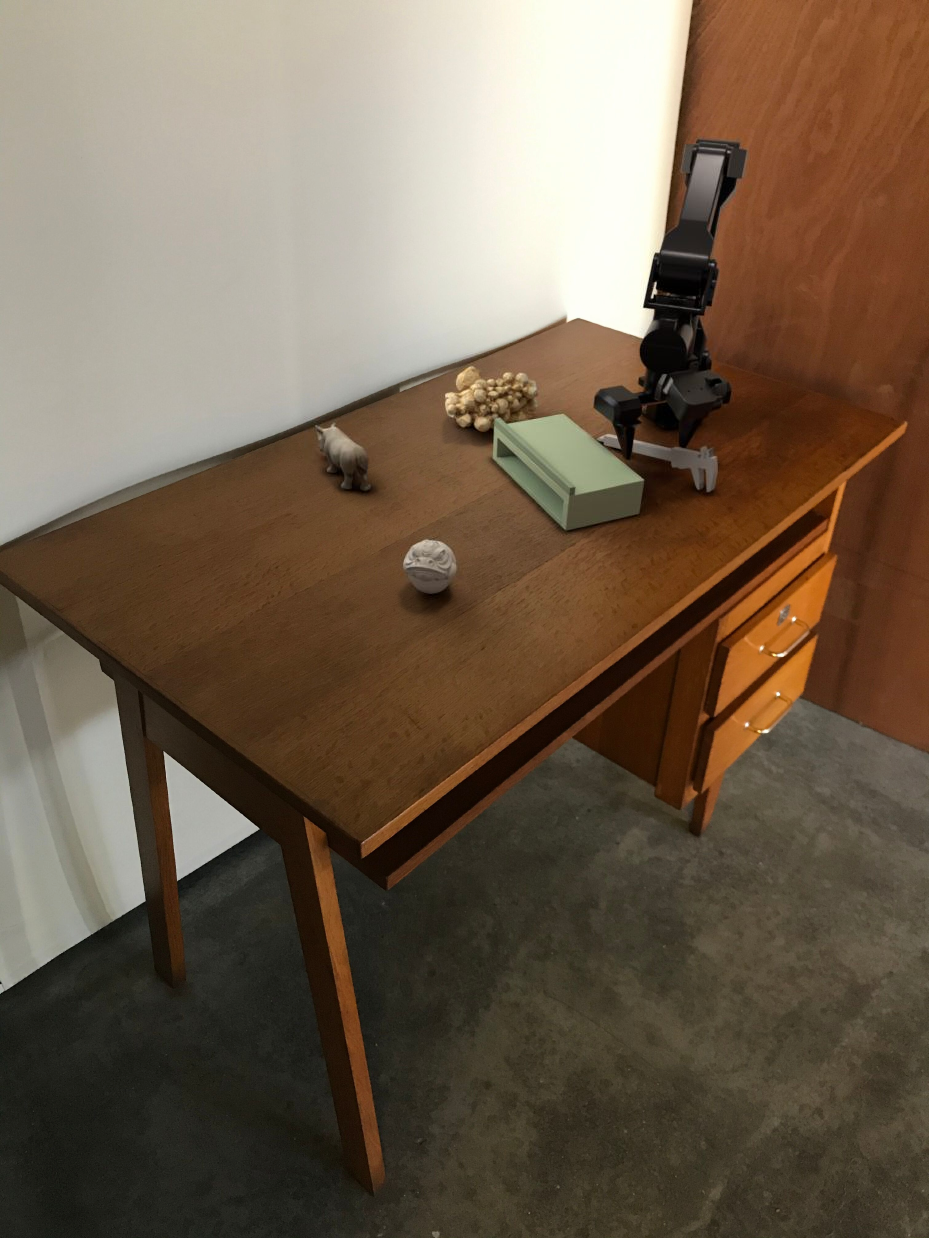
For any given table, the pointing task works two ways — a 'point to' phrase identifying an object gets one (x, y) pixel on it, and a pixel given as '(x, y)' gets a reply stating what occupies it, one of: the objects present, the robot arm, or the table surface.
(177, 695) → the table surface
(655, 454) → the caliper
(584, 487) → the desk shelf
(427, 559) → the frog figurine
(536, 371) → the table surface
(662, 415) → the robot arm
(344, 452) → the rhino figurine
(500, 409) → the mineral formation
